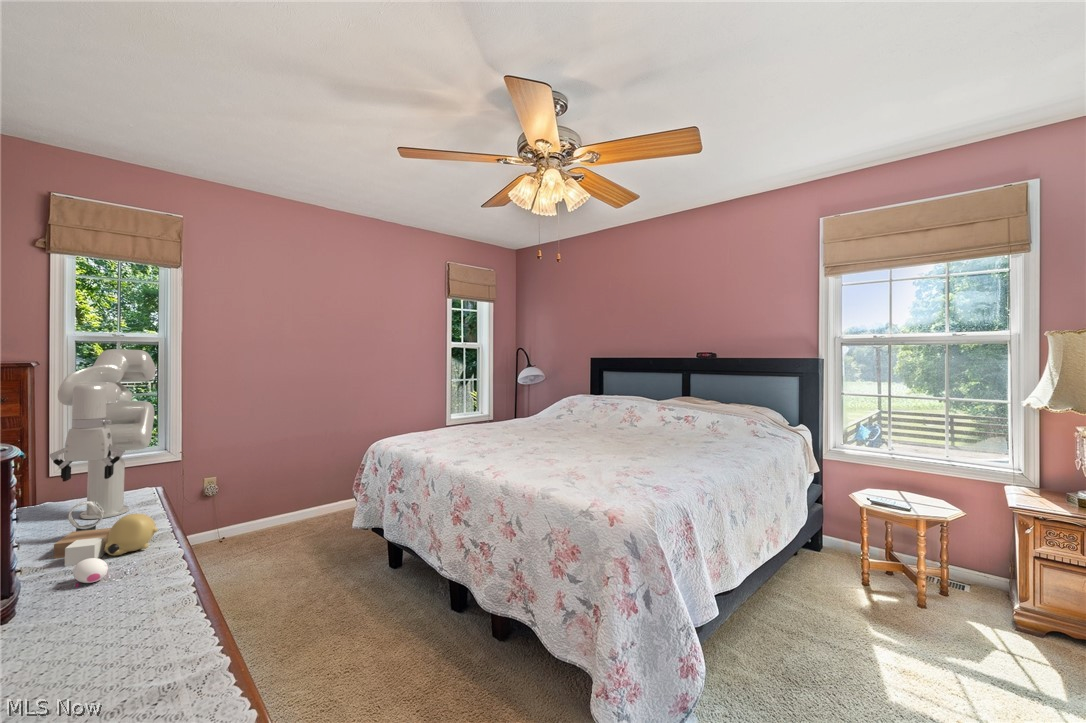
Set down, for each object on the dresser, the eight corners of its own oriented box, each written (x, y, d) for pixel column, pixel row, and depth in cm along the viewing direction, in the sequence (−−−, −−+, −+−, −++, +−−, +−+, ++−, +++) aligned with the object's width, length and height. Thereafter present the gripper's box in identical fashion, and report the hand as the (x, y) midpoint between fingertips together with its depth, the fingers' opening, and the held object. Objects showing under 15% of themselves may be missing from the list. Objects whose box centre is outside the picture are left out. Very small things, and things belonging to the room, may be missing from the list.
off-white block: (75, 558, 128) (76, 540, 128) (103, 554, 130) (104, 537, 130) (64, 566, 122) (65, 548, 122) (94, 563, 125) (94, 544, 125)
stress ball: (108, 593, 115) (127, 566, 119) (76, 588, 109) (97, 558, 113) (88, 587, 118) (107, 560, 121) (56, 581, 111) (77, 552, 115)
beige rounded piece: (128, 558, 136) (91, 540, 131) (163, 521, 142) (130, 503, 137) (130, 568, 129) (92, 550, 124) (167, 529, 135) (132, 510, 130)
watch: (104, 537, 142) (105, 501, 142) (66, 543, 137) (68, 506, 137) (104, 531, 146) (105, 497, 146) (68, 538, 141) (69, 502, 141)
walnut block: (72, 545, 136) (72, 531, 136) (115, 540, 140) (116, 527, 140) (53, 558, 127) (53, 544, 127) (100, 553, 131) (101, 539, 131)
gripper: (129, 421, 148) (128, 474, 148) (57, 423, 141) (56, 478, 141) (120, 424, 142) (118, 479, 142) (44, 426, 134) (42, 484, 134)
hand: (87, 479), depth 141 cm, fingers open, 9 cm apart
